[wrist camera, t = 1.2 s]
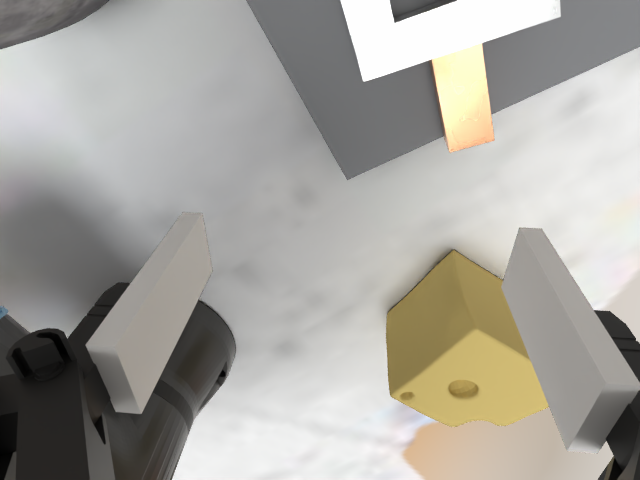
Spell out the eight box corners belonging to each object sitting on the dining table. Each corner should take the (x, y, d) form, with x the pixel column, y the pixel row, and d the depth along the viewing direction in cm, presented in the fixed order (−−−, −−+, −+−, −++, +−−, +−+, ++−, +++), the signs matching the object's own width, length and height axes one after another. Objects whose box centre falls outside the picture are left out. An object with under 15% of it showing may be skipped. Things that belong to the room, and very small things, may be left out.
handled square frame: (306, -137, 22) (300, -146, 20) (530, -246, 19) (549, -270, 17) (386, 154, 31) (388, 169, 29) (550, 109, 28) (564, 121, 26)
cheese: (461, 357, 44) (482, 449, 36) (378, 310, 42) (380, 398, 34) (541, 298, 39) (587, 390, 31) (451, 240, 36) (475, 323, 28)
